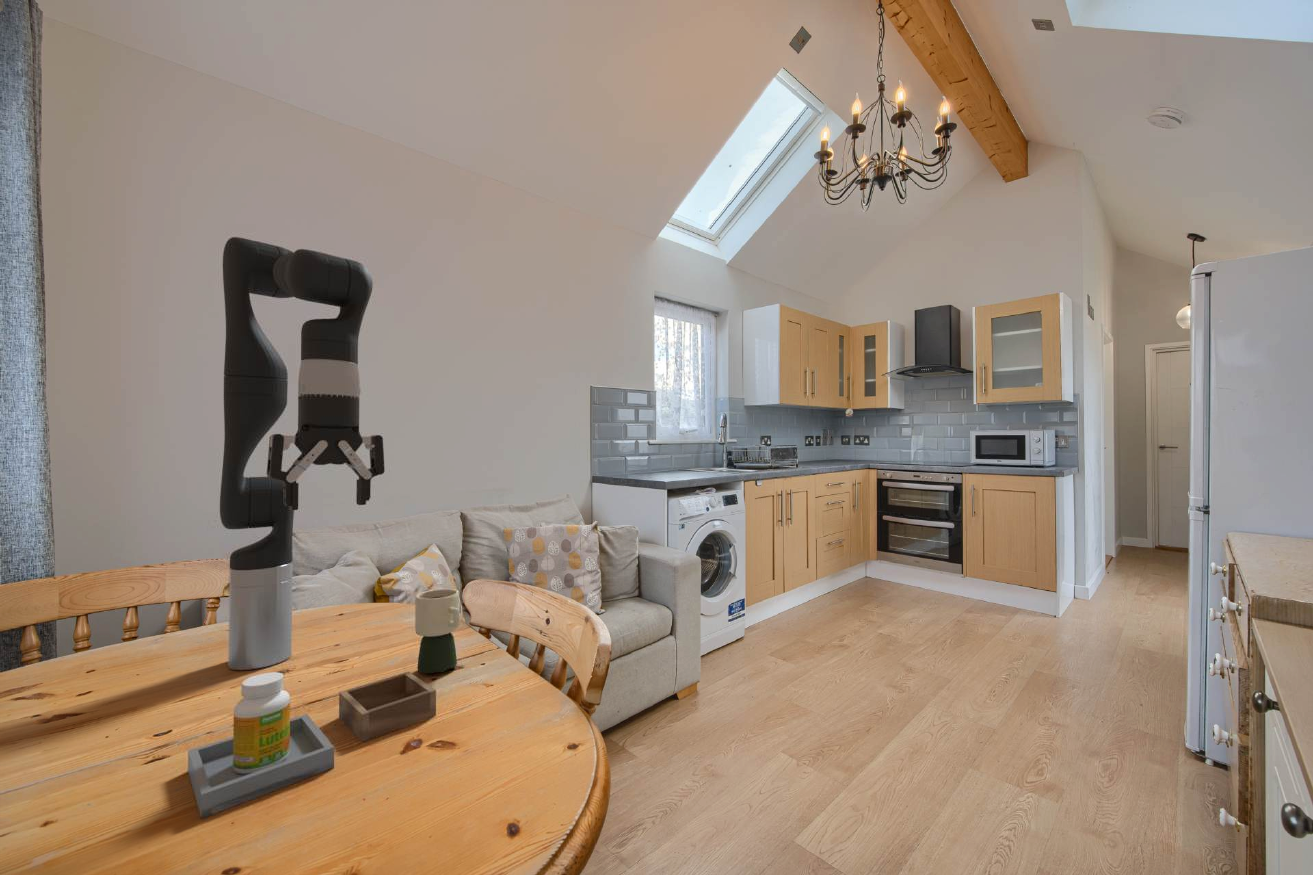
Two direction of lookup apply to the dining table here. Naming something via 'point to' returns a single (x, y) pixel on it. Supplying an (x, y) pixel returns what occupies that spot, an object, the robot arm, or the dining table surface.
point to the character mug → (437, 628)
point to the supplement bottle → (261, 724)
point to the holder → (386, 705)
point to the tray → (229, 788)
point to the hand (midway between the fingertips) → (328, 507)
